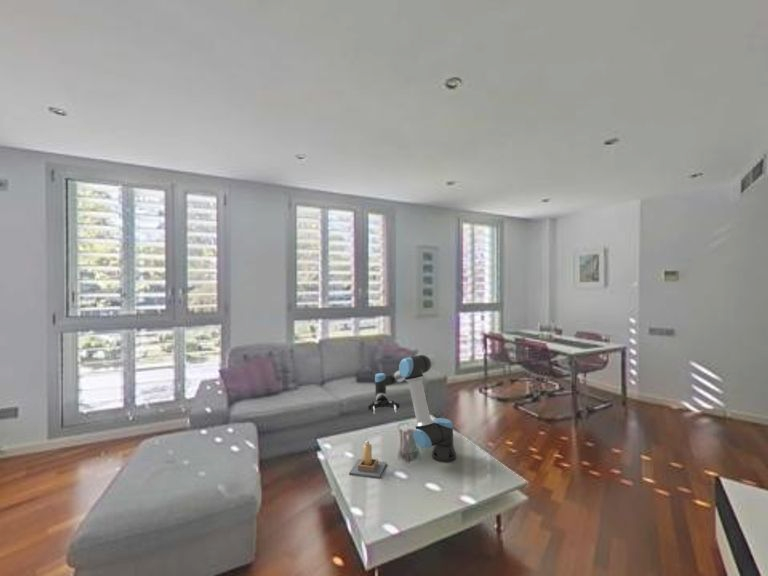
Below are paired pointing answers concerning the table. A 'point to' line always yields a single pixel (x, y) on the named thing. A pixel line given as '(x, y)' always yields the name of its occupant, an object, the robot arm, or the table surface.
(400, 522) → the table surface
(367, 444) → the yellow bottle
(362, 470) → the dock
